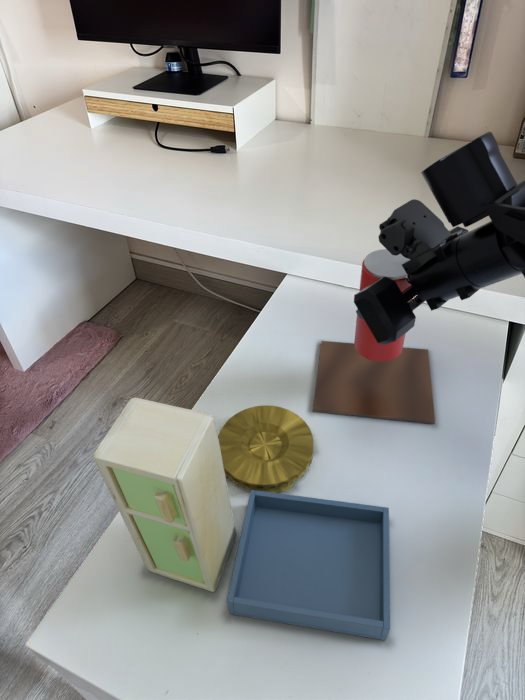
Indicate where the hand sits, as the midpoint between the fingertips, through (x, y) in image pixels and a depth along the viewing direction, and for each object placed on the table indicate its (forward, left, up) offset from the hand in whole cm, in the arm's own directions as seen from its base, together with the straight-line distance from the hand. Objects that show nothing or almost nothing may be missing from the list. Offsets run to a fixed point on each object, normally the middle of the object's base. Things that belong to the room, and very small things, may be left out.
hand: (375, 302), depth 64 cm
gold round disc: (+12, +15, -14) cm, 24 cm away
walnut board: (-1, +1, -13) cm, 13 cm away
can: (-1, +1, -6) cm, 7 cm away
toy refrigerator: (+18, +30, -14) cm, 37 cm away
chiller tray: (+5, +29, -13) cm, 32 cm away
